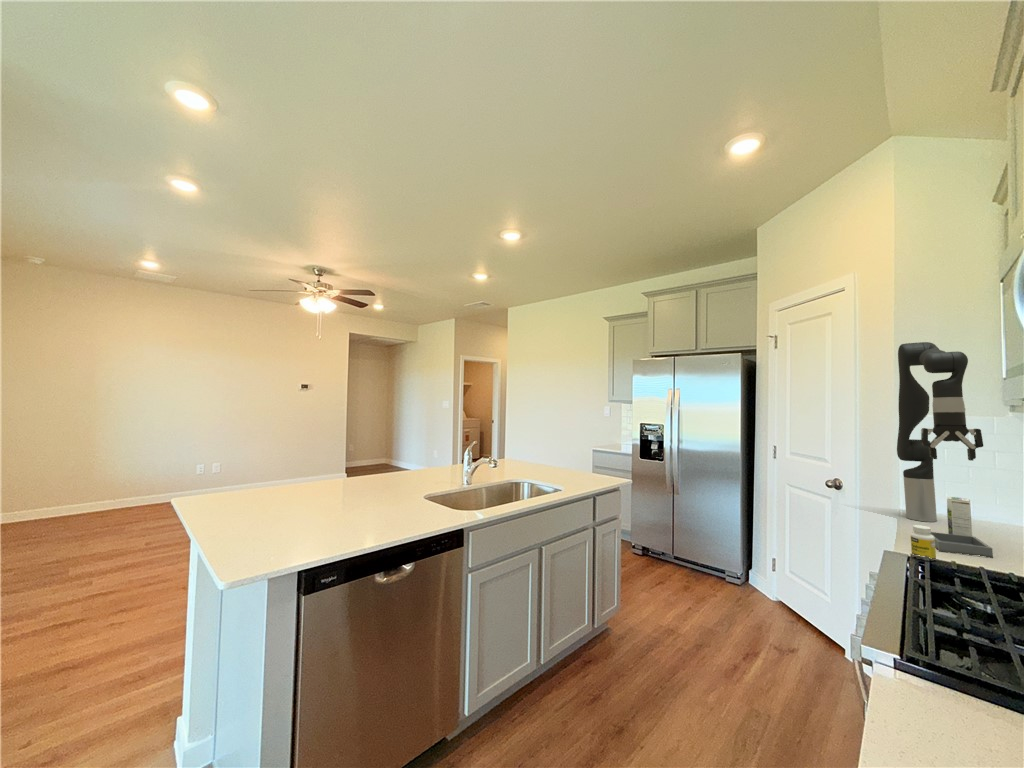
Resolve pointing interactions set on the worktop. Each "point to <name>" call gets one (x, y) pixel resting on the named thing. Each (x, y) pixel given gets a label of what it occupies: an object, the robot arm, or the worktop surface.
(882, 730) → the worktop surface
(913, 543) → the supplement bottle
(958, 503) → the syrup box
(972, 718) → the worktop surface
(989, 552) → the tray
